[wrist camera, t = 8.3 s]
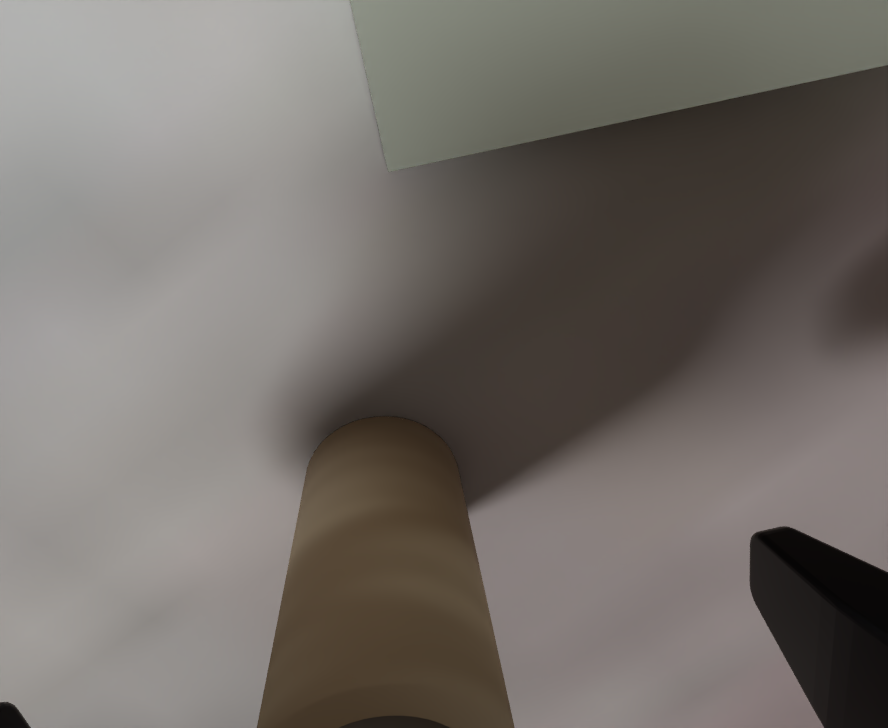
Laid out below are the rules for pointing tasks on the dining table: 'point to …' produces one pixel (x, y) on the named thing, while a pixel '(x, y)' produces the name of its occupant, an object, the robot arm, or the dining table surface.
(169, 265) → the dining table surface
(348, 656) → the awl
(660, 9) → the board
